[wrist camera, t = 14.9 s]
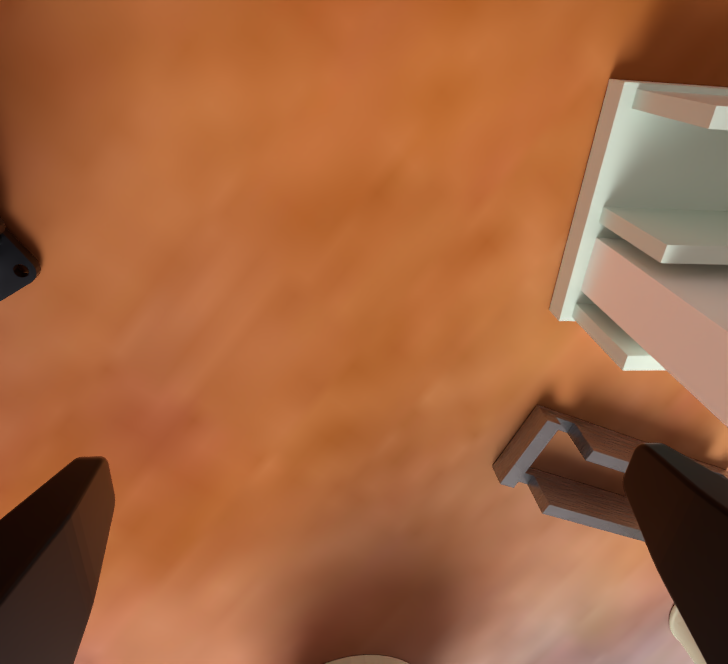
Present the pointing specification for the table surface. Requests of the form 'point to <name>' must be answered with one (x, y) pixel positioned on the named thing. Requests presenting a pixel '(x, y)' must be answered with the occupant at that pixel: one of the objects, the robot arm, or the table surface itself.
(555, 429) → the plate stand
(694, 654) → the can
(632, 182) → the dish rack
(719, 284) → the white block
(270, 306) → the table surface
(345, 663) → the reusable coffee cup
